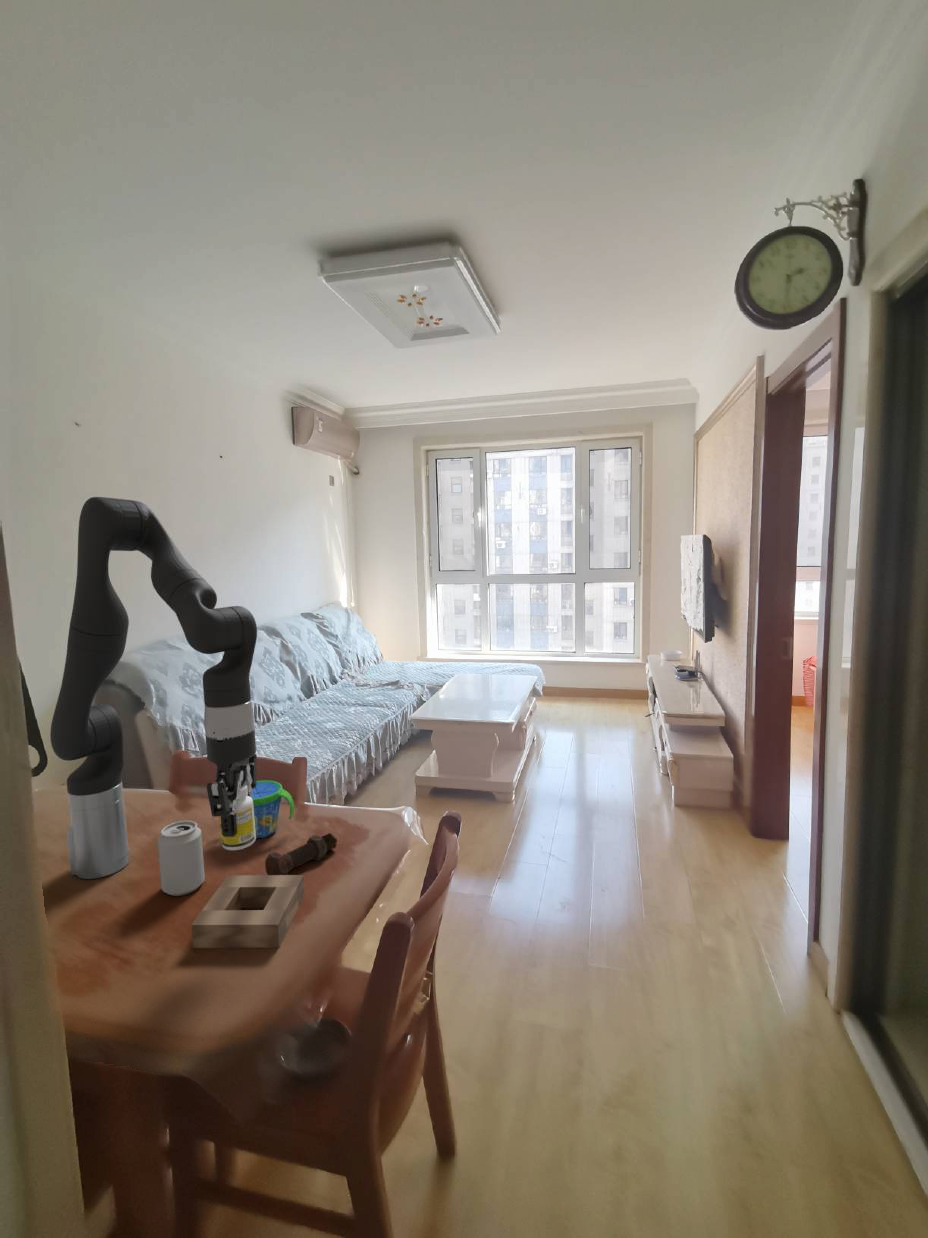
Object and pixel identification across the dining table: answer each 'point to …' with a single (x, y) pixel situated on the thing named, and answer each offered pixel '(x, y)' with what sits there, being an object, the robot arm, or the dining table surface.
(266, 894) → the socket block
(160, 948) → the dining table surface
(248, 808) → the supplement bottle
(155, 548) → the robot arm
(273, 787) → the snack cup
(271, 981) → the dining table surface
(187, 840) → the can
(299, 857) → the bolt
